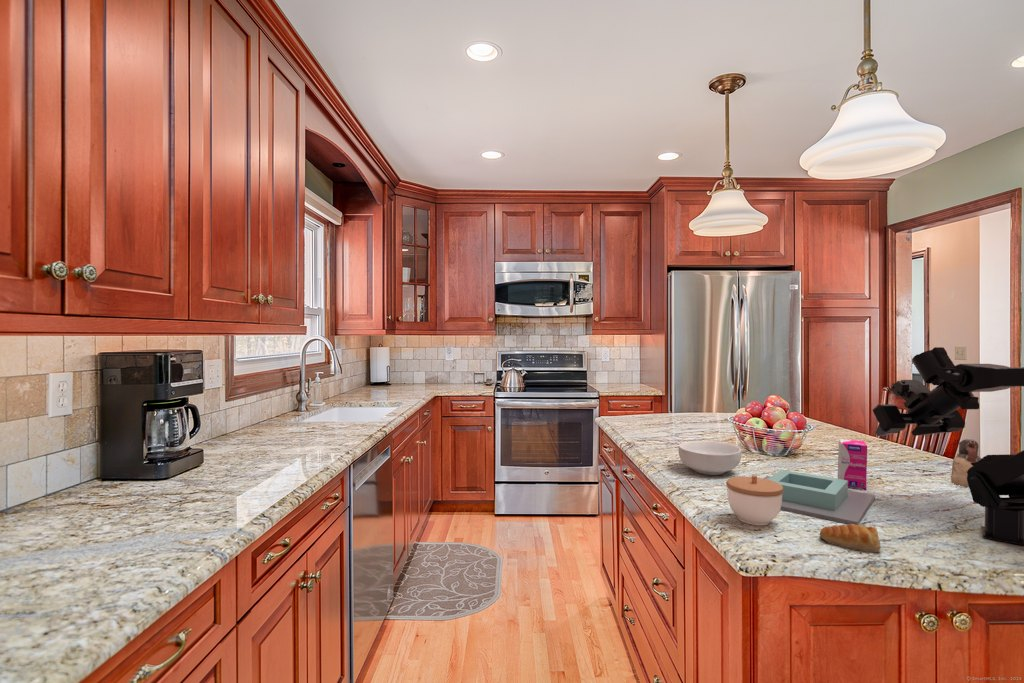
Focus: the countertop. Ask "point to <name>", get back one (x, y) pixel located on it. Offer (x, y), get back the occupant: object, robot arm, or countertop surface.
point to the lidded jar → (754, 499)
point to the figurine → (964, 461)
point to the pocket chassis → (821, 497)
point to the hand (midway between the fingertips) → (894, 434)
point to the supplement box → (852, 463)
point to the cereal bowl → (709, 456)
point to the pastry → (852, 537)
